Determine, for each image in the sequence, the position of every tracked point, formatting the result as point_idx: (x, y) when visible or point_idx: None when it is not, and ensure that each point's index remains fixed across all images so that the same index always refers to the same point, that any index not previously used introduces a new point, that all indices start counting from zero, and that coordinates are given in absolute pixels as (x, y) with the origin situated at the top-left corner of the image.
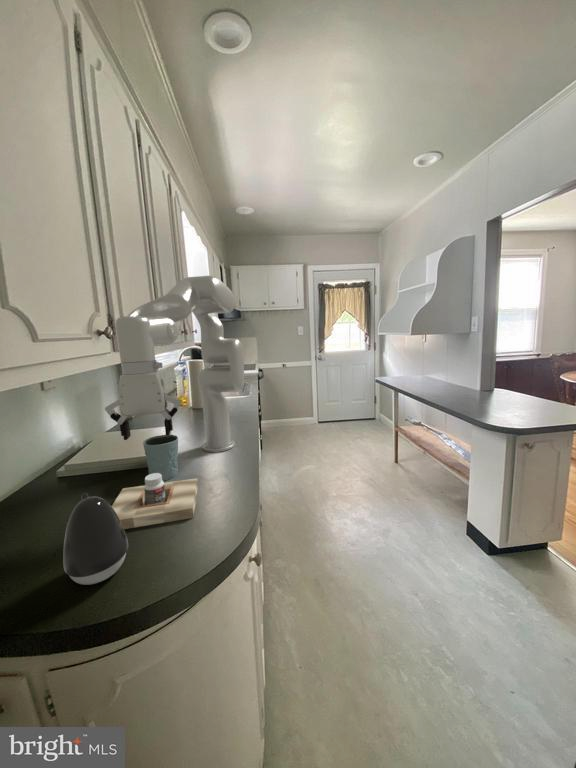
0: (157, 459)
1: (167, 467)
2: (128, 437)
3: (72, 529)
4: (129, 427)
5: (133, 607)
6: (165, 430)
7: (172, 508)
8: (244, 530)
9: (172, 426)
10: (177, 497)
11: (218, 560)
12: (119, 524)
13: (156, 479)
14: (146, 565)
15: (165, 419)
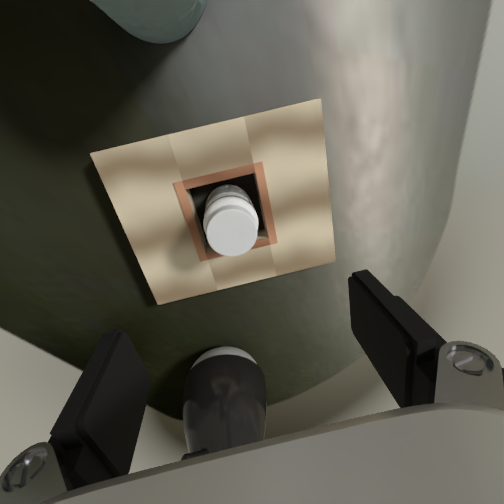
0: (145, 17)
1: (188, 14)
2: (141, 364)
3: None
4: (103, 375)
5: (292, 394)
6: (366, 353)
7: (291, 261)
8: (419, 285)
9: (405, 303)
10: (288, 215)
11: None
12: (264, 416)
13: (250, 248)
14: (282, 350)
15: (414, 401)
